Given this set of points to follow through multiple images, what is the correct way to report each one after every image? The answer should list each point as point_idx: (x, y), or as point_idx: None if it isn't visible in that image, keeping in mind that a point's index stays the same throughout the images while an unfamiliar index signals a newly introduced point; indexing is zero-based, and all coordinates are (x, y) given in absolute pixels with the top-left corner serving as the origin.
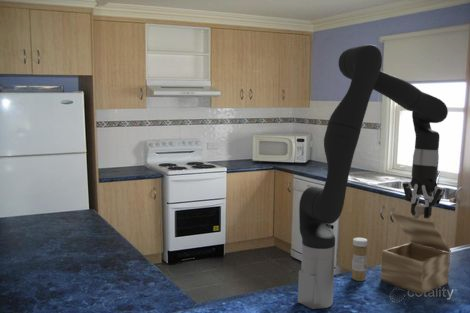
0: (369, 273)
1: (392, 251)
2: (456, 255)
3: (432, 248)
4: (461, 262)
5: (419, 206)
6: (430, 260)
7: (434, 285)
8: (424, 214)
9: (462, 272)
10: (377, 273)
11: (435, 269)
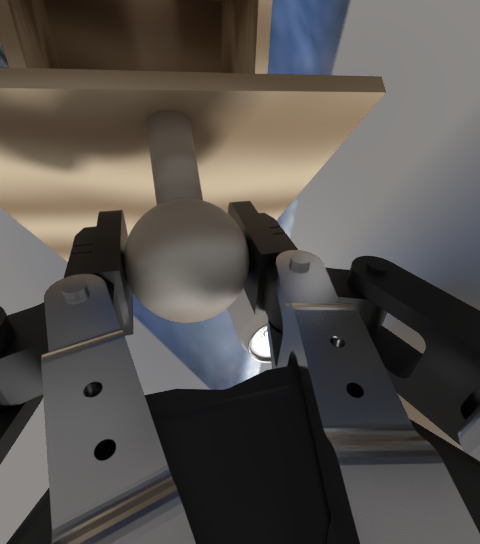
0: (299, 30)
1: (251, 60)
2: (222, 375)
3: None
4: (186, 353)
5: (176, 239)
6: (8, 59)
7: None
8: (115, 222)
9: (134, 306)
10: (279, 61)
11: None
